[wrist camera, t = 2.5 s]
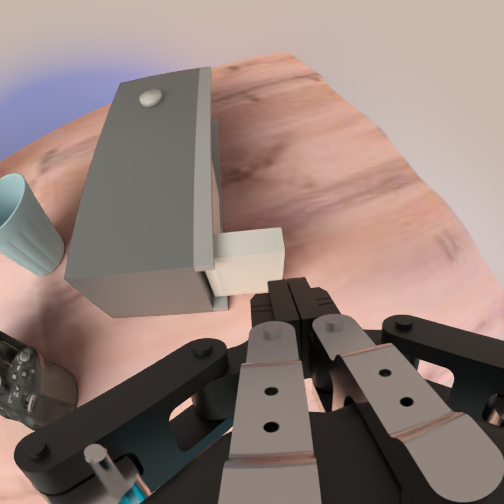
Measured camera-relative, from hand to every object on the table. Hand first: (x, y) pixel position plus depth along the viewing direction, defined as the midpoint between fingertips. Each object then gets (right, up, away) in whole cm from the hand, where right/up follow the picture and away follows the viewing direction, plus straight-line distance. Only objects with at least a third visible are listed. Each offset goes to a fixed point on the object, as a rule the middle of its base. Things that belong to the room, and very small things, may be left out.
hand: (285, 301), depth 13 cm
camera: (-24, -12, +13) cm, 30 cm away
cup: (-25, +1, +20) cm, 32 cm away
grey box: (-11, +7, +22) cm, 26 cm away
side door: (-2, +3, +18) cm, 19 cm away
